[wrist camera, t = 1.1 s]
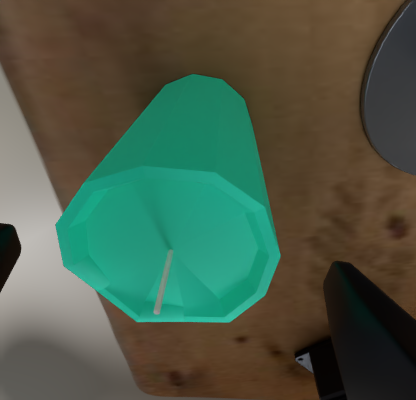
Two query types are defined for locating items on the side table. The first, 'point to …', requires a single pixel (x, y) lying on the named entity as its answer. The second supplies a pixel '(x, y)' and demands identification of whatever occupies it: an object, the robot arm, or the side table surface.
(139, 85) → the side table surface
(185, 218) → the candle
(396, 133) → the slate coaster
